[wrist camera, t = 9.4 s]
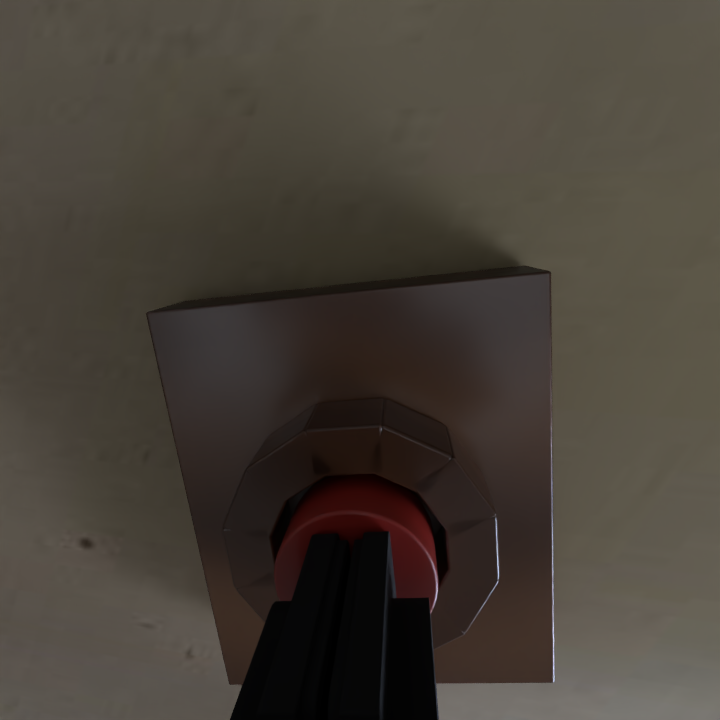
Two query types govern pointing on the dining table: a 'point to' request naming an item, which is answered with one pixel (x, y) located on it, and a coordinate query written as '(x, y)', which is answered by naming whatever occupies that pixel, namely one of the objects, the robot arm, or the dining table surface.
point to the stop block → (377, 444)
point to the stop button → (354, 517)
